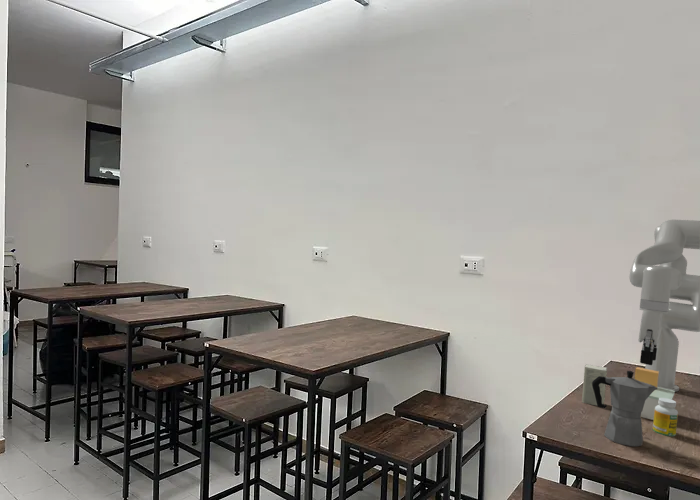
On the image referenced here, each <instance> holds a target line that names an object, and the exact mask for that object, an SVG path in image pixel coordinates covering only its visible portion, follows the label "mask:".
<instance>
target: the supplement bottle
mask: <svg viewBox="0 0 700 500" xmlns="http://www.w3.org/2000/svg"><path fill="white" fill-rule="evenodd" d="M658 403H659V405H657V406H656V407H655V412H654V420H653V422H652V430H653V432H654V433H656V434H659V435H663V436H667V437H676V436H677V428H678V427H677V426H678V420H679V419H678V417H679V412H678V410H677V409H676V406H677V401H675V400H673V399H672V400H671V399H667V398H659V401H658Z"/></svg>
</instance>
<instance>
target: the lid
mask: <svg viewBox="0 0 700 500" xmlns="http://www.w3.org/2000/svg"><path fill="white" fill-rule="evenodd" d="M658 377H659V371H654V370H649V369H645V368H644V367H638V366H637V367H635V370H634V379H636V380H638V381H641V382H644V383H647V384H651V385H653V386H655V387H657V386H658ZM674 395H675V391H673V390H668V389H664V388H659V387H657V389H656V390H654V391H653V392H652V393H651V394H650V396H649V397H648V398H653V399H657V400H659V398H667V399H671V400H673V399H674Z"/></svg>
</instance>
